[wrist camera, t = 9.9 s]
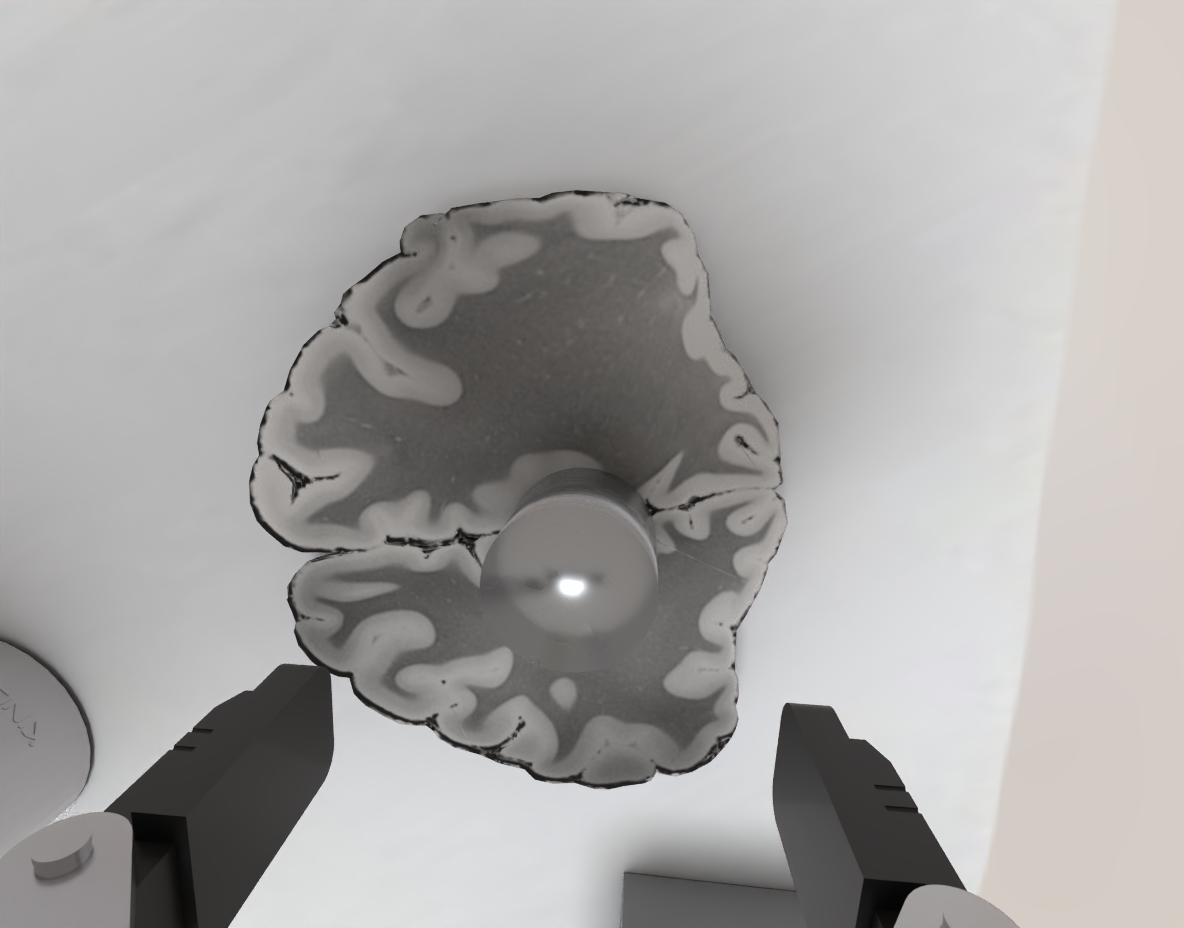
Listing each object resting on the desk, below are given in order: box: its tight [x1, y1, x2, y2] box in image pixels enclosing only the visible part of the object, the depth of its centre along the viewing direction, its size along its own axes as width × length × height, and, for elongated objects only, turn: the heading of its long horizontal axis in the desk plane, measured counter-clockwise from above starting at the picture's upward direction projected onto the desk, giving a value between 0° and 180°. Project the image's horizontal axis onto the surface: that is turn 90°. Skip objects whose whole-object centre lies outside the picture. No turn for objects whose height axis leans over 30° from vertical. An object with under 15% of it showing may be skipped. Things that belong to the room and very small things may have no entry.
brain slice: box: [249, 190, 788, 789], centre depth 22 cm, size 20×17×3 cm
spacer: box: [480, 468, 658, 673], centre depth 18 cm, size 5×5×4 cm
